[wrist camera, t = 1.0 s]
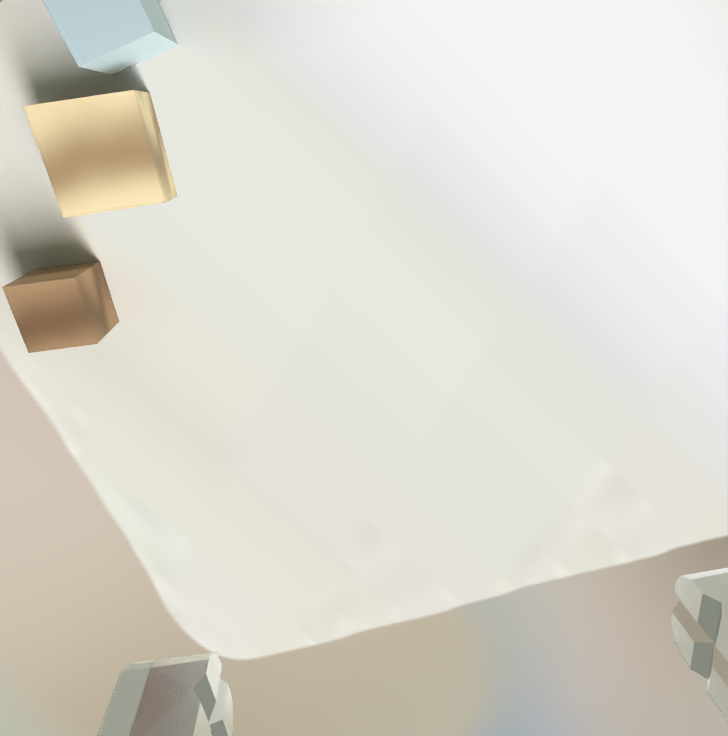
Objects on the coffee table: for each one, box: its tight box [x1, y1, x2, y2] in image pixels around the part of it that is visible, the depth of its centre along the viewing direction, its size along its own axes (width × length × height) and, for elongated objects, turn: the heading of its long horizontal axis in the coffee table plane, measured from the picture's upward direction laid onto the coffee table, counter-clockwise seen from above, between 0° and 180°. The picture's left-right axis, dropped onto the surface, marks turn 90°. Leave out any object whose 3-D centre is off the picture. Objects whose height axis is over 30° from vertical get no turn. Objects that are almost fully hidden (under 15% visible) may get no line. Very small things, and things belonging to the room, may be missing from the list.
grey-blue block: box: [42, 0, 178, 75], centre depth 34 cm, size 5×5×6 cm
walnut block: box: [2, 261, 119, 353], centre depth 41 cm, size 5×5×5 cm
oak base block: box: [24, 90, 177, 218], centre depth 38 cm, size 7×7×4 cm
